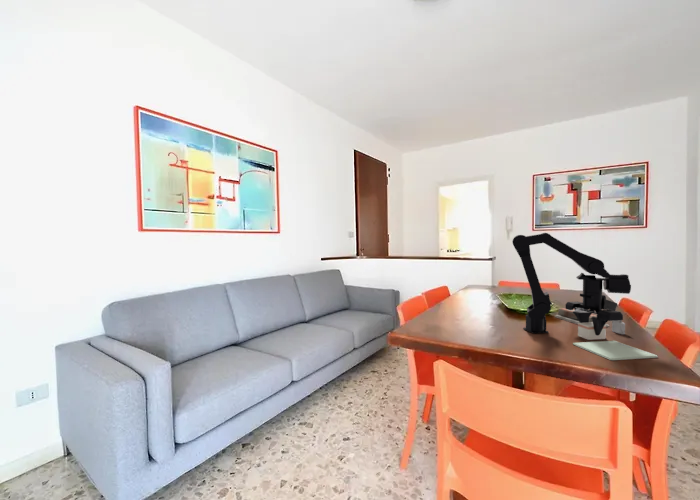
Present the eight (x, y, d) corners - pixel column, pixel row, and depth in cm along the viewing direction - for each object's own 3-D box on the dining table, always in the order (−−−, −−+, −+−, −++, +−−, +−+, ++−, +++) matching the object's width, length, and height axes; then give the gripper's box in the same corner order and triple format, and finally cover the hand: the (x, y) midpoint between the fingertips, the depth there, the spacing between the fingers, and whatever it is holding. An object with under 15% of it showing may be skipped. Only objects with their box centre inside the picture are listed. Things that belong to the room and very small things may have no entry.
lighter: (625, 334, 118) (625, 313, 118) (620, 334, 118) (621, 313, 118) (609, 328, 125) (609, 309, 125) (605, 328, 125) (605, 309, 125)
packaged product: (553, 307, 144) (572, 306, 146) (553, 317, 144) (572, 316, 146) (589, 317, 126) (610, 316, 128) (588, 329, 126) (609, 327, 128)
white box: (588, 339, 112) (588, 326, 112) (577, 335, 117) (577, 322, 117) (605, 338, 113) (606, 325, 113) (594, 334, 118) (594, 322, 117)
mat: (611, 360, 94) (611, 358, 94) (573, 344, 108) (573, 342, 108) (657, 357, 95) (657, 355, 95) (614, 342, 109) (614, 340, 109)
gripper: (637, 295, 106) (636, 340, 106) (590, 287, 124) (589, 325, 125) (608, 296, 105) (607, 342, 105) (564, 288, 123) (564, 326, 124)
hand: (591, 333), depth 115 cm, fingers closed on white box, 4 cm apart
